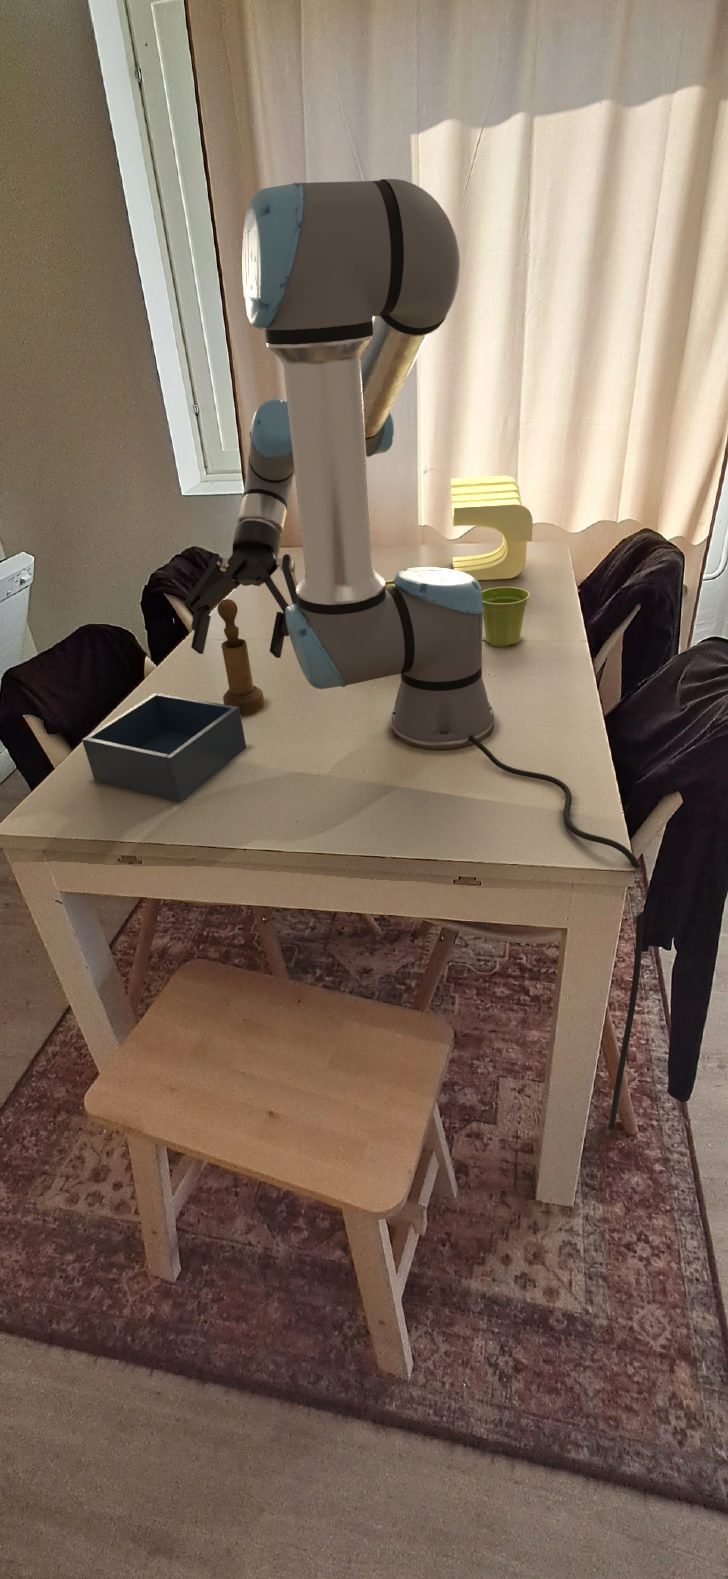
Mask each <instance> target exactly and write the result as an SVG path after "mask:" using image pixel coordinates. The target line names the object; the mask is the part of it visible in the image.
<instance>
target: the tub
mask: <svg viewBox="0 0 728 1579" xmlns="http://www.w3.org/2000/svg"><path fill="white" fill-rule="evenodd" d="M81 741H82V745H83V748H84V751H85V754H86V758H87V761H88V765H89V767H90V770H91V774H92V776H93V779H94V782H97V783H100V784H105V785H110V786H113V787H118V788H121V789H125V790H130V791H134V792H137V793H142V794H146V795H149V796H150V795H151V796H154V797H159V798H162V799H166V800H169V801H170V800H171V801H175V802H179V803H182V802H183V801H184V800H185V799H186V798H188V797H189V796H190V795H191V794H192V793H194V792H195V791H196V790H198V788H200V787H201V786H202V785H204V784H205V783H206V782H207V781H208V780H209V779H211V778H212V777H213V776H215V775H216V773H218V772H219V771H220V770H222V769H223V768H224V767H225V766H227V765H228V764H229V763H230V762H232V760H234V759H235V758H237V756H239V755H240V754H241V753H242V752H243V751H244V750H246V749H247V743H246V738H245V733H244V727H243V722H242V716H241V715H240V710H239V707H236V706H230V705H225V704H224V703H219V702H213V701H206V700H200V699H194V698H189V697H183V696H177V695H171V694H165V693H159V692H154V693H153V694H151V695H149V696H148V697H146V698H145V699H143V700H141V701H140V702H138V703H136V704H135V705H134V706H132V707H131V708H128V710H126V711H124V712H123V713H121V714H120V715H118V716H117V717H115V718H113V719H112V720H110V721H109V722H106V723H105V724H104V725H103V726H101V727H99V728H97V729H96V730H95V731H92V732H91V733H90V734H88V735H87V736H85V737H84V738H82V739H81Z"/></svg>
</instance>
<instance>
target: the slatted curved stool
mask: <svg viewBox="0 0 728 1579" xmlns="http://www.w3.org/2000/svg"><path fill="white" fill-rule="evenodd" d="M450 494H451V514H452V526H453V527H459V526H460V527H461V526H463V527H464V526H466V527H467V526H468V527H469V526H470V527H471V526H473V527H474V526H475V527H486V528H490V529H493V530H494V529H495V530H497V531H499V532H500V533H501V534H502V536H503V537H502V543H501V545H500V546H499V547H497V549H495V550H492V551H490V552H487V553H482V554H477V555H476V554H475V555H470V556H458V557H456V556H455V557H452V570H457V571H461V572H464V573H467V574H469V575H471V576H472V577H474V578H475V579H476V580H477V581H488V580H505V579H506V580H507V579H513V578H516V577H517V576H518V575H520V573H521V572H522V571H523V570H524V567H525V565H526V561H527V547H528V542H532V541H533V524H534V522H533V516H532V513H531V511H530V509H529V508H528V507H527V505H525V504H522V501H521V494H520V487H519V485H518V482H517V481H516V480H515V479H514V478H513V477H512V476H509V475H489V476H474V477H458V478H450Z"/></svg>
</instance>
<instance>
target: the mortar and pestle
mask: <svg viewBox="0 0 728 1579" xmlns="http://www.w3.org/2000/svg"><path fill="white" fill-rule="evenodd" d="M216 610H217V613H218V615H219V617H220V618H221V619H222V620H223V622H224V624H225V627H224V629H223V633H224V636H225V638H226V639H227V640H225V641H222V643H221V650H222V656H223V662H224V667H225V672H226V677H227V683H228V684H227V685H228V689H227V690H226V692H225V693H223V696H222V701H223V704H225V705H230V706H236V707H239V710H240V715H241V717H242V716H243V717H244V716H250V715H252V714H256V713H258V712H260V711H261V710H262V709H264V707H265V696H264V693H263V690H262V689H261V688H260V687H258V686H256V685H254V683H253V675H252V670H251V663H250V656H249V650H248V644H247V640H245V639H243V638H239V634H240V633H239V632H240V629H239V627H238V626H236V624H235V622H236V617H237V615H238V610H239V609H238V605H237V603H236V602H235V601H234V600H233V599H229V598H226V599H222V600H221V601H220V602H219V603H218V604H217V609H216Z"/></svg>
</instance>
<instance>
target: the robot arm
mask: <svg viewBox="0 0 728 1579" xmlns="http://www.w3.org/2000/svg"><path fill="white" fill-rule="evenodd" d="M248 203H249V204H248V205H247V209H246V212H245V217H244V224H243V230H242V231H243V232H242V246H241V247H242V248H241V276H242V277H241V278H242V279H241V280H242V292H243V300H245V311H246V312H245V313H246V315H247V318H248V321H249V323H250V324H251V325H252V326H253V327H254V328H257V329H259V330H262V329H264V335H265V342H266V347H267V348H268V349H269V350H270V351H271V352H272V353H273V354H274V355H275V356H276V357H277V358H278V359H279V361H280V362H281V363H282V369H283V378H284V388H285V397H286V400H282V398H272V399H268V400H265V401H264V402H263V403H261V404H260V405H259V406H258V407H257V409H256V410H255V412H254V414H253V418H252V422H251V427H250V431H249V453H248V459H247V460H248V461H247V470H246V475H245V482H244V486H243V487H244V488H243V493H242V498H241V502H240V507H239V511H238V516H237V520H236V524H237V525H236V527H235V531H234V535H233V540H232V552H231V554H230V556H229V557H224V556H221V555H220V554H219V553H214V554H212V557H211V560H210V563H209V565H208V567H207V568H206V570H205V571H204V573H203V574H202V575H201V577H200V578H199V580H198V582H196V584H195V585H194V587H193V588H192V589H191V591H190V593H189V594H188V596H187V597H186V598H185V600H184V605H186V607H188V609H190V610H191V611H192V612H193V616H192V621H191V626H190V627H191V630H192V631H193V637H192V641H191V645H190V647H191V649H192V650H194V651H195V652H196V653H197V654H199V655H203V654H204V652H205V648H206V642H207V637H208V632H209V629H210V628H209V627H210V623H211V618H212V617H211V615H210V614H209V612H211V610H213V608H215V607H216V606H218V604H219V603H220V602H221V601H222V600H224V598H225V597H226V596H227V595H228V594H230V592H232V590H234V589H235V590H236V589H237V588H239V587H240V585H242V587H243V586H244V587H245V586H246V587H247V586H255V587H261V585H263V584H265V586H266V587H267V589H268V591H269V592H270V594H271V595H272V596H273V599H274V600H275V602H276V603H277V605H278V606H279V608H280V609H281V611H276V614H275V620H274V625H273V629H272V630H273V631H272V635H271V642H270V645H269V646H270V647H269V652H270V653H271V654H272V656H274V658H276V659H281V656H282V652H283V646H284V641H285V637H289V639H290V643H291V646H292V648H293V652H294V655H295V657H296V660H297V662H298V664H299V667H300V669H301V672H302V674H303V676H304V677H305V680H306V681H307V682H308V683H309V684H310V686H312V687H313V688H314V689H318V690H327V689H332V688H338V687H341V688H345V687H347V686H351V685H354V684H359V683H365V682H368V681H373V680H378V679H382V678H388V677H392V676H395V675H400V683H399V687H398V690H397V694H396V697H395V703H394V707H393V709H392V711H391V717H390V725H391V727H390V728H391V733H392V735H393V736H394V737H395V739H396V740H398V741H399V742H400V743H402V744H404V745H406V746H408V747H410V748H414V749H418V750H423V751H431V752H433V751H434V752H448V751H458V750H463V749H467V748H469V747H473V746H475V747H477V748H478V749H479V750H480V752H482V753H483V754H484V755H485V756H486V757H487V758H488V759H489V760H490V761H491V763H492V764H494V765H495V766H496V767H498V768H499V769H501V770H503V771H505V772H508V773H510V774H512V775H516V776H521V777H526V778H531V779H538V780H543V781H546V782H549V783H551V784H554V785H556V786H557V787H559V788H560V789H561V790H562V791H563V793H564V795H565V801H564V806H563V813H562V814H563V815H562V817H563V821H564V824H565V826H566V827H567V828H568V830H569V831H570V832H571V833H573V834H574V835H575V836H577V837H579V838H581V839H583V840H587V841H590V842H594V843H597V844H602V845H604V846H608V847H611V848H613V849H616V850H617V851H618V852H620V853H621V854H623V855H624V856H625V857H626V858H627V859H628V861H629V862H630V864H631V866H632V867H634V868H636V869H639V868H641V865H640V863H639V861H638V860H637V857H636V856H635V855H634V854H633V853H632V851H630V850H629V849H628V848H627V847H626V846H624V845H623V844H621V843H619V842H618V841H615V840H613V839H610V838H607V837H603V836H599V835H597V834H596V835H595V834H592V833H587V832H585V831H583V830H581V829H578V827H577V826H575V824H574V823H573V822H572V820H571V815H570V813H571V807H572V803H573V801H572V800H573V797H572V796H573V794H572V792H571V789H570V788H569V786H567V784H565V782H563V781H562V780H560V779H558V778H556V777H554V776H551V775H548V774H544V773H539V772H533V771H528V770H523V769H518V768H515V767H512V766H509V765H506V764H505V763H503V762H502V761H500V760H499V759H498V758H497V757H496V756H495V755H494V754H493V753H492V752H491V751H490V750H489V749H488V748H487V747H486V746H485V745H484V744H483V743H482V742H484V741H485V740H486V739H487V738H489V737H490V735H491V734H492V733H493V731H494V730H495V729H494V728H495V715H494V714H495V713H494V709H493V706H492V704H491V703H490V702H489V698H488V694H487V690H486V686H485V683H484V681H483V680H484V679H483V612H484V609H483V605H482V592H481V591H482V586H481V584H480V582H479V580H476V579H475V578H474V577H472V576H471V575H469V574H467V573H464V572H461V571H457V570H453V568H446V567H434V566H416V567H408V568H404V569H403V570H400V571H398V572H397V573H396V574H395V577H394V579H393V584H394V585H393V586H391V587H386V581H385V579H384V577H383V576H381V575H380V574H379V573H377V572H376V571H375V570H374V567H373V550H372V532H371V516H370V500H369V497H370V496H369V483H368V482H369V480H368V465H367V463H368V462H367V458H369V457H372V456H374V455H378V454H379V455H380V454H383V453H386V452H389V450H390V449H391V447H392V446H393V443H394V439H393V437H394V435H395V426H394V418H393V414H392V409H393V406H394V404H395V403H396V400H397V398H398V396H399V394H400V392H401V391H402V388H403V386H404V384H405V382H406V381H407V378H408V376H409V374H410V372H411V370H412V368H413V366H414V364H415V361H416V360H417V358H418V355H419V354H420V351H421V350H422V347H423V345H424V344H425V342H426V340H427V337H428V336H429V335H430V334H433V333H434V332H436V331H437V330H438V329H439V328H440V327H441V326H442V325H443V324H444V322H445V321H446V318H447V316H448V315H449V312H450V311H451V309H452V307H453V305H454V302H455V300H456V296H457V293H458V289H459V285H460V280H461V254H460V253H461V252H460V247H459V241H458V238H457V234H456V232H455V230H454V227H453V225H452V222H451V220H450V218H449V217H448V215H447V213H446V212H445V210H444V209H443V208H442V206H441V205H440V203H439V202H438V201H437V199H436V198H435V197H433V196H432V195H431V194H430V193H429V192H428V191H426V190H425V189H424V188H422V187H420V186H419V185H416V184H415V183H412V182H409V181H407V180H403V179H398V178H397V179H396V178H383V179H379V180H363V181H361V180H360V181H357V180H356V181H319V182H314V181H313V182H295V181H294V182H293V183H289V184H282V185H277V186H270V187H265V188H261V189H260V190H258V191H257V192H256V193H255V194H254V195H253V196H252V198H251V199H250V201H249V202H248ZM294 478H295V479H294ZM293 480H295V489H296V497H297V498H296V499H297V507H298V516H299V526H300V534H301V542H302V544H301V545H302V552H303V553H302V554H303V562H304V570H305V575H304V576H303V578H302V579H301V580H300V581H299V582H298V581H297V578H296V574H295V573H296V572H295V571H296V563H295V561H294V560H293V558H292V557H291V555H290V554H288V553H286V554H284V555H283V557H279V555H280V549H281V544H282V538H283V537H282V535H283V533H284V529H285V528H284V527H285V522H286V517H287V512H288V504H289V500H290V495H291V492H292V491H291V490H292V487H293ZM278 569H280V571H281V572H282V573H283V577H284V580H285V584H286V586H287V589H288V593H289V596H290V600H291V602H292V603H291V604H289V602H288V601H287V599H286V598H285V597H284V595H283V593H282V591H281V590H280V589H279V587H278V585H277V584H276V582H275V581H274V579H273V577H272V575H273V574H274V573H275V572H276V571H277V570H278ZM233 577H234V579H233ZM643 934H644V911H641V912H640V913H639V914H638V915H637V916H636V917H635V947H634V961H633V970H632V978H631V979H632V980H631V988H630V996H629V1002H628V1008H627V1014H626V1021H625V1025H624V1026H625V1028H624V1033H623V1038H622V1043H621V1050H620V1055H619V1061H618V1067H617V1072H616V1077H615V1084H614V1090H613V1095H612V1096H613V1097H612V1103H611V1109H610V1116H609V1122H608V1128H609V1130H611V1131H613V1130H615V1127H616V1121H617V1113H618V1106H619V1101H620V1100H619V1099H620V1095H621V1089H622V1088H621V1087H622V1082H623V1077H624V1072H625V1067H626V1060H627V1055H628V1050H629V1046H630V1045H629V1044H630V1040H631V1034H632V1028H633V1022H634V1017H635V1010H636V1005H637V998H638V991H639V983H640V975H641V966H642V954H643V937H644V936H643Z"/></svg>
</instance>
